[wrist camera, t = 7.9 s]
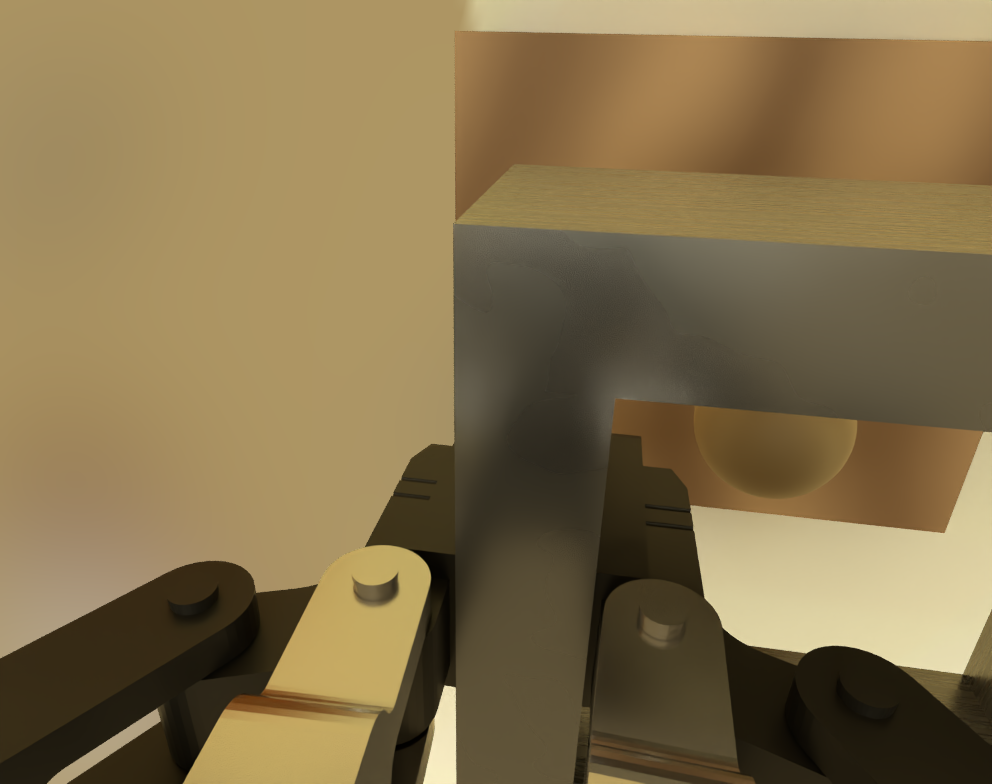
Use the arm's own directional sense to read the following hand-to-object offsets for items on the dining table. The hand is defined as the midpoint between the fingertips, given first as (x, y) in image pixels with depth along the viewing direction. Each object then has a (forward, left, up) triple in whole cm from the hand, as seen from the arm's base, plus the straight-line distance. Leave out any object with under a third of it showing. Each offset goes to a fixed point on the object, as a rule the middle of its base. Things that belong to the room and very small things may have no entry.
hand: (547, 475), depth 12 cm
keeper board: (-4, 0, -12) cm, 12 cm away
